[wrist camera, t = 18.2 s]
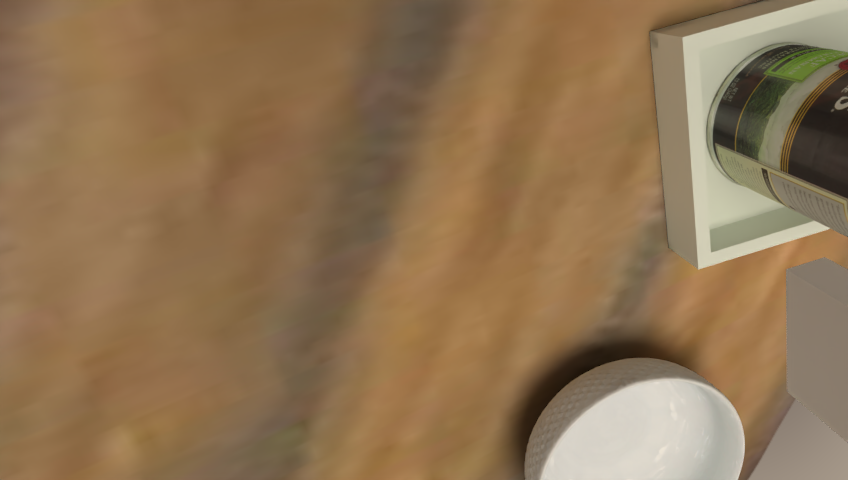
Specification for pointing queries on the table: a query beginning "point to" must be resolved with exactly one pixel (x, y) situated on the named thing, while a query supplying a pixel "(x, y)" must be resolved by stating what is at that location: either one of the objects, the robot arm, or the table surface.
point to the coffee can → (787, 129)
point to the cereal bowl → (637, 427)
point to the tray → (688, 116)
